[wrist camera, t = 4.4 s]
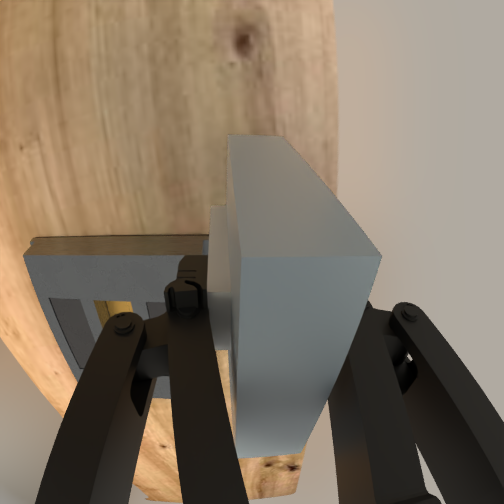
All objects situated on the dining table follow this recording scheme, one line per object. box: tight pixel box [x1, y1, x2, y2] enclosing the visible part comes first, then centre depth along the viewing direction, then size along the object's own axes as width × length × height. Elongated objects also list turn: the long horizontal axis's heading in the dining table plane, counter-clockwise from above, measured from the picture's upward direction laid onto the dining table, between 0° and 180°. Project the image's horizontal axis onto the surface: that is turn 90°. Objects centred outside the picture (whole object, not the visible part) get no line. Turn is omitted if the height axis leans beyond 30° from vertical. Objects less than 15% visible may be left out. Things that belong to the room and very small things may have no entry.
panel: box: [226, 134, 382, 458], centre depth 12 cm, size 9×2×10 cm, turn 177°
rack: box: [23, 236, 209, 399], centre depth 29 cm, size 20×18×4 cm
